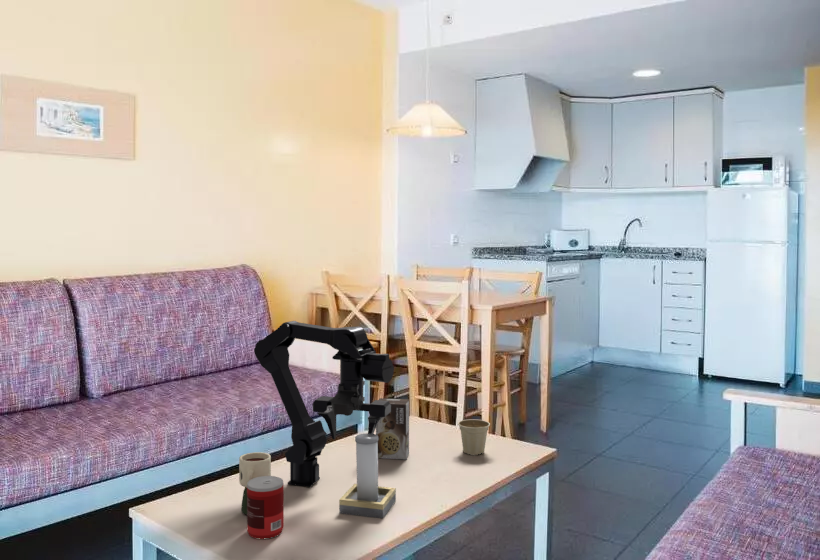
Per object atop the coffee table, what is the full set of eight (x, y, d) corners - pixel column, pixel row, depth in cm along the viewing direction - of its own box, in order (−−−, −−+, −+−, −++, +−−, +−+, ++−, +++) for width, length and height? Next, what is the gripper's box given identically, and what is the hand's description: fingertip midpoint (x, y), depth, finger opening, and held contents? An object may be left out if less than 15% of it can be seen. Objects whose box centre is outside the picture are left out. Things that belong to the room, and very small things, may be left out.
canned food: (286, 524, 156) (286, 475, 155) (280, 539, 148) (280, 488, 147) (251, 524, 155) (250, 475, 155) (243, 540, 147) (243, 488, 147)
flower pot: (452, 448, 211) (453, 420, 210) (481, 446, 213) (482, 418, 213) (464, 458, 202) (465, 428, 201) (494, 455, 204) (495, 426, 204)
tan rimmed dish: (339, 513, 162) (339, 499, 162) (354, 496, 172) (354, 483, 172) (383, 518, 159) (383, 504, 159) (395, 501, 169) (395, 488, 169)
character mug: (246, 502, 167) (245, 449, 166) (275, 503, 167) (275, 449, 166) (233, 521, 157) (233, 464, 156) (265, 522, 156) (265, 465, 155)
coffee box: (409, 453, 206) (410, 398, 205) (406, 460, 200) (406, 404, 198) (379, 451, 207) (379, 397, 206) (374, 458, 201) (375, 402, 200)
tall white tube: (357, 503, 162) (356, 441, 161) (355, 494, 168) (354, 434, 166) (380, 502, 163) (379, 440, 162) (377, 492, 169) (377, 432, 167)
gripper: (303, 382, 168) (303, 446, 169) (378, 387, 163) (377, 453, 164) (321, 373, 178) (320, 434, 179) (391, 378, 174) (391, 440, 175)
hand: (351, 440), depth 174 cm, fingers open, 9 cm apart
